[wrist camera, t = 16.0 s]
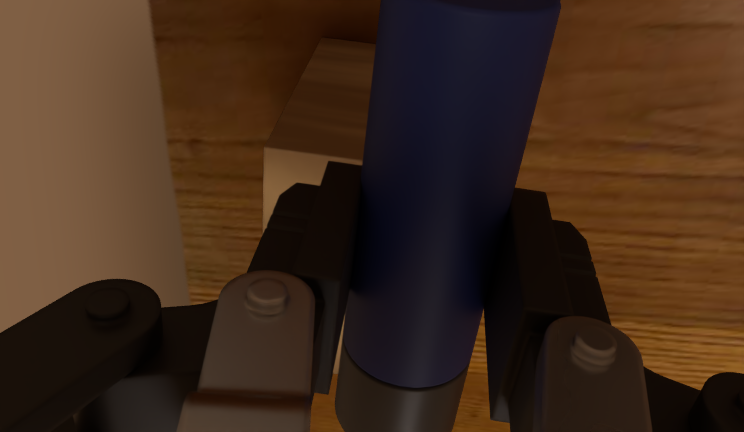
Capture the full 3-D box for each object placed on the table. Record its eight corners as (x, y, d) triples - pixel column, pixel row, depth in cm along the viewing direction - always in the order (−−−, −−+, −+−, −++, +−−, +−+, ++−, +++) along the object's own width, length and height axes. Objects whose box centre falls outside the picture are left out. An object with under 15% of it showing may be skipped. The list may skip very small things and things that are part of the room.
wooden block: (321, 36, 33) (263, 147, 23) (403, 47, 33) (382, 162, 23) (311, 211, 38) (260, 363, 28) (381, 221, 38) (356, 377, 28)
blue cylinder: (392, -46, 11) (374, -6, 9) (552, -24, 11) (574, 23, 9) (344, 357, 16) (325, 448, 14) (455, 375, 16) (453, 469, 14)
